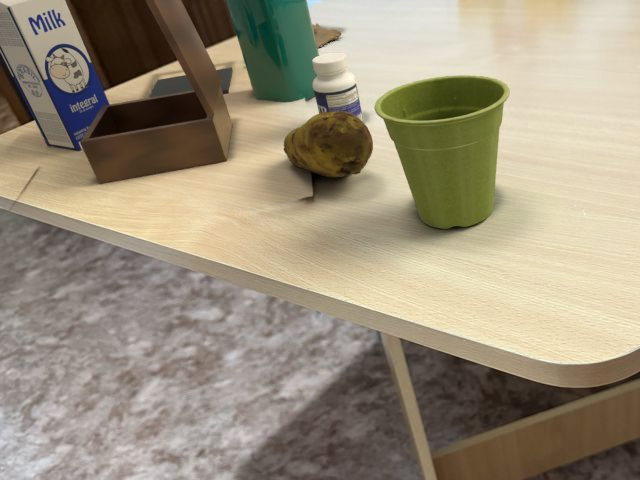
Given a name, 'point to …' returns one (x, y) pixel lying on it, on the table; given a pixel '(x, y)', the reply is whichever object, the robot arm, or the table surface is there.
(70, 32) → the milk carton
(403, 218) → the table surface
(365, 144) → the potato
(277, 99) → the pitcher
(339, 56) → the pill bottle
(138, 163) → the brown wooden box
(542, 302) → the table surface
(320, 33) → the jawbone
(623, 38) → the table surface
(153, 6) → the lid
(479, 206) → the plant pot
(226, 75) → the mat
